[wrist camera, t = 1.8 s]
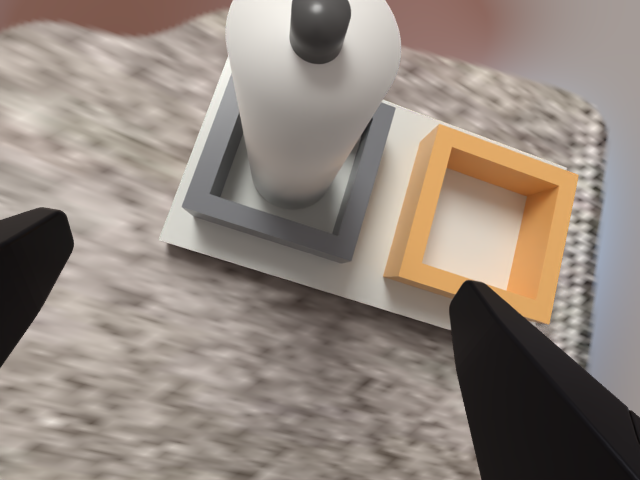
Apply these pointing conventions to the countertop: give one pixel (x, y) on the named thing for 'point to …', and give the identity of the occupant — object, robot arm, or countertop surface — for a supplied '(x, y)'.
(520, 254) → the dock
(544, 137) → the countertop surface
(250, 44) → the white bottle
